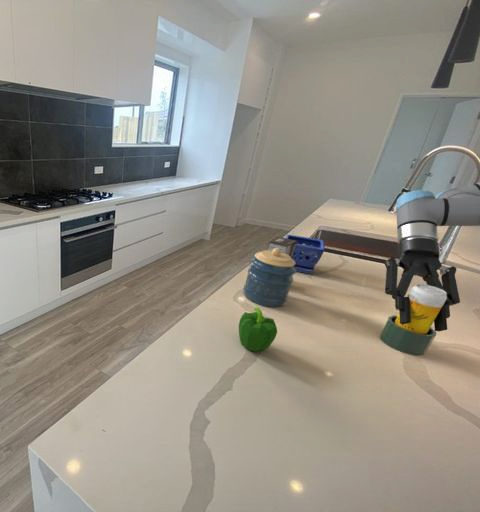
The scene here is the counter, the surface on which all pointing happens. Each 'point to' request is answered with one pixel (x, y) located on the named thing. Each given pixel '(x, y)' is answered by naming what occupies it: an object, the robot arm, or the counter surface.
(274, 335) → the bell pepper
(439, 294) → the yellow and white cup
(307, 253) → the flower pot
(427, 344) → the holder
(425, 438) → the counter surface
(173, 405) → the counter surface
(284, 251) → the coffee box
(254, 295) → the canister
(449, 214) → the robot arm
